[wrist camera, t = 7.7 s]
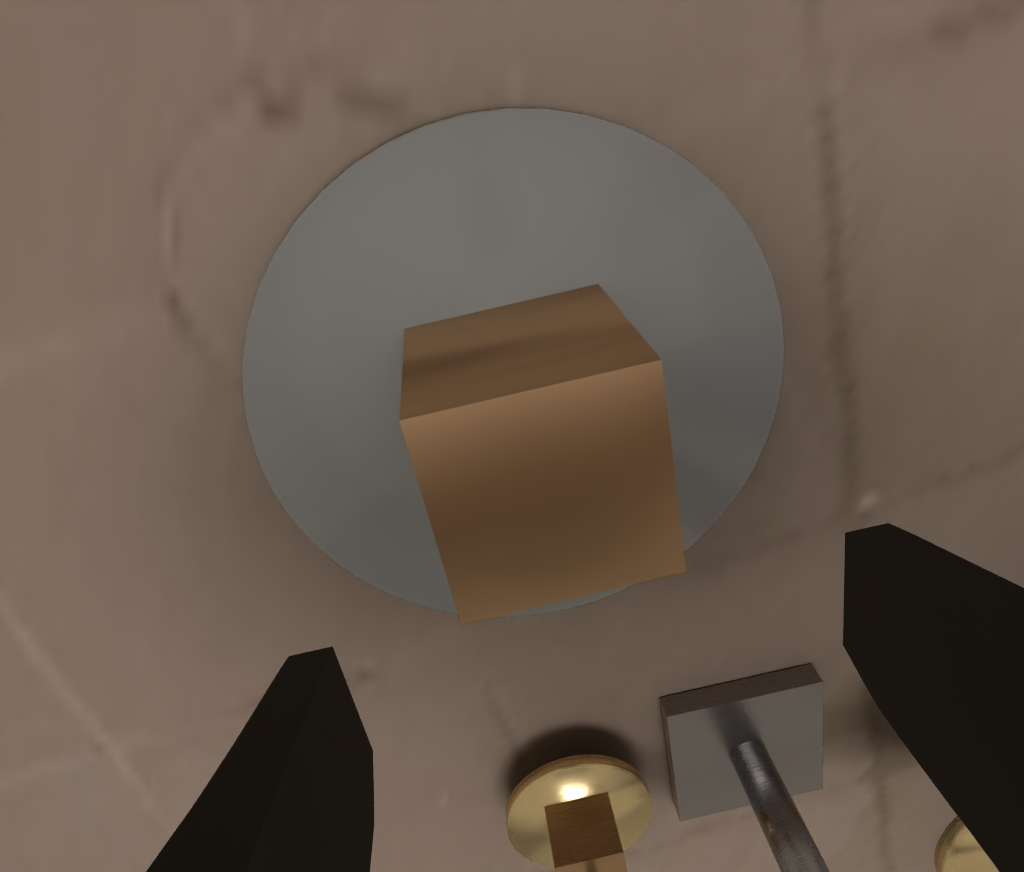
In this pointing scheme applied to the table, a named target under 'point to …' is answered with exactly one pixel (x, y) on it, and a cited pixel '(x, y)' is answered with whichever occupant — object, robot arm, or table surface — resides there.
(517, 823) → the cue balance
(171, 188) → the table surface
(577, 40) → the table surface
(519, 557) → the walnut block
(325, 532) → the slate dish
